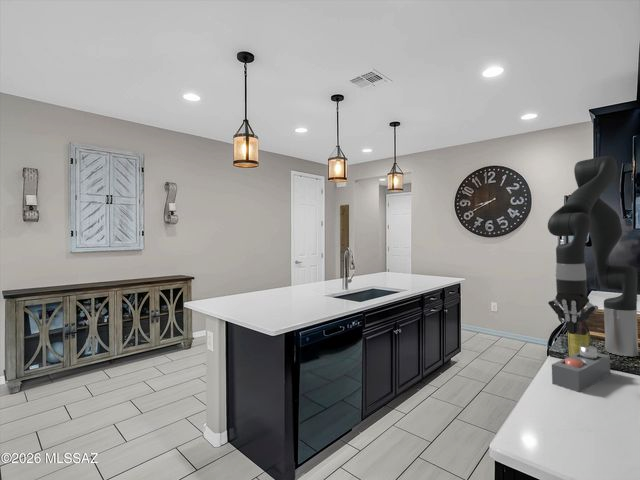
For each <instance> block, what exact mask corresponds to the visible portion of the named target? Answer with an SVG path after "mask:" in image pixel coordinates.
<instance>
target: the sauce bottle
mask: <svg viewBox="0 0 640 480" xmlns="http://www.w3.org/2000/svg"><path fill="white" fill-rule="evenodd" d="M584 313H585V307H584V308H583V309H582V310H581V314H580V317H581V316H582V315H583V314H584ZM579 328H580V331H579V332H578V333H577V334H570V333H569V331H567V341H568V342H567V343H568V357H569V356H572V355H574V354H576V353H579V352H580V346H581V345H588V346H592V345H591V334H590V333H591V332H590V331H591V330H590V328H589V326H588V323H587V320H585V321H582V322H579Z"/></svg>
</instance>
